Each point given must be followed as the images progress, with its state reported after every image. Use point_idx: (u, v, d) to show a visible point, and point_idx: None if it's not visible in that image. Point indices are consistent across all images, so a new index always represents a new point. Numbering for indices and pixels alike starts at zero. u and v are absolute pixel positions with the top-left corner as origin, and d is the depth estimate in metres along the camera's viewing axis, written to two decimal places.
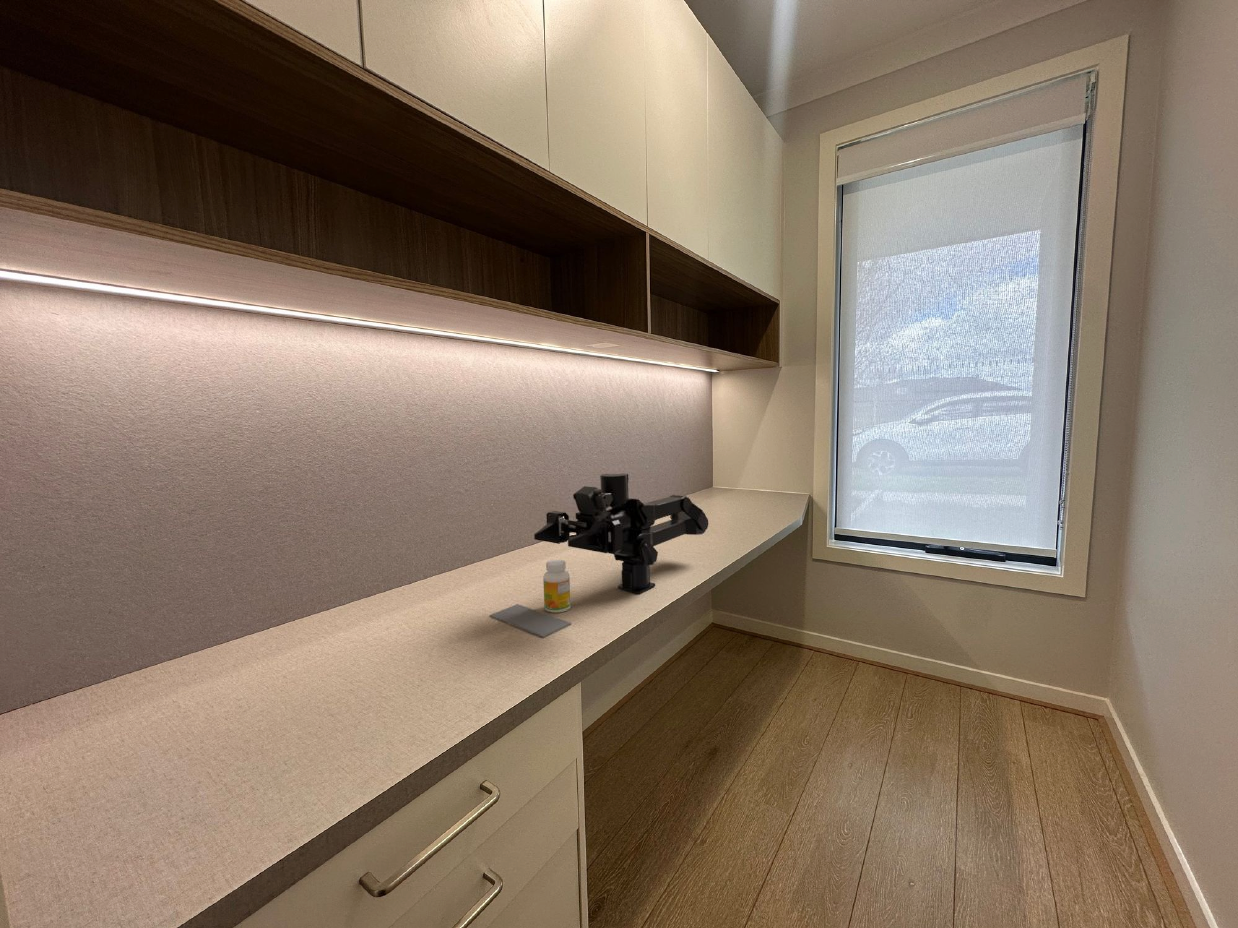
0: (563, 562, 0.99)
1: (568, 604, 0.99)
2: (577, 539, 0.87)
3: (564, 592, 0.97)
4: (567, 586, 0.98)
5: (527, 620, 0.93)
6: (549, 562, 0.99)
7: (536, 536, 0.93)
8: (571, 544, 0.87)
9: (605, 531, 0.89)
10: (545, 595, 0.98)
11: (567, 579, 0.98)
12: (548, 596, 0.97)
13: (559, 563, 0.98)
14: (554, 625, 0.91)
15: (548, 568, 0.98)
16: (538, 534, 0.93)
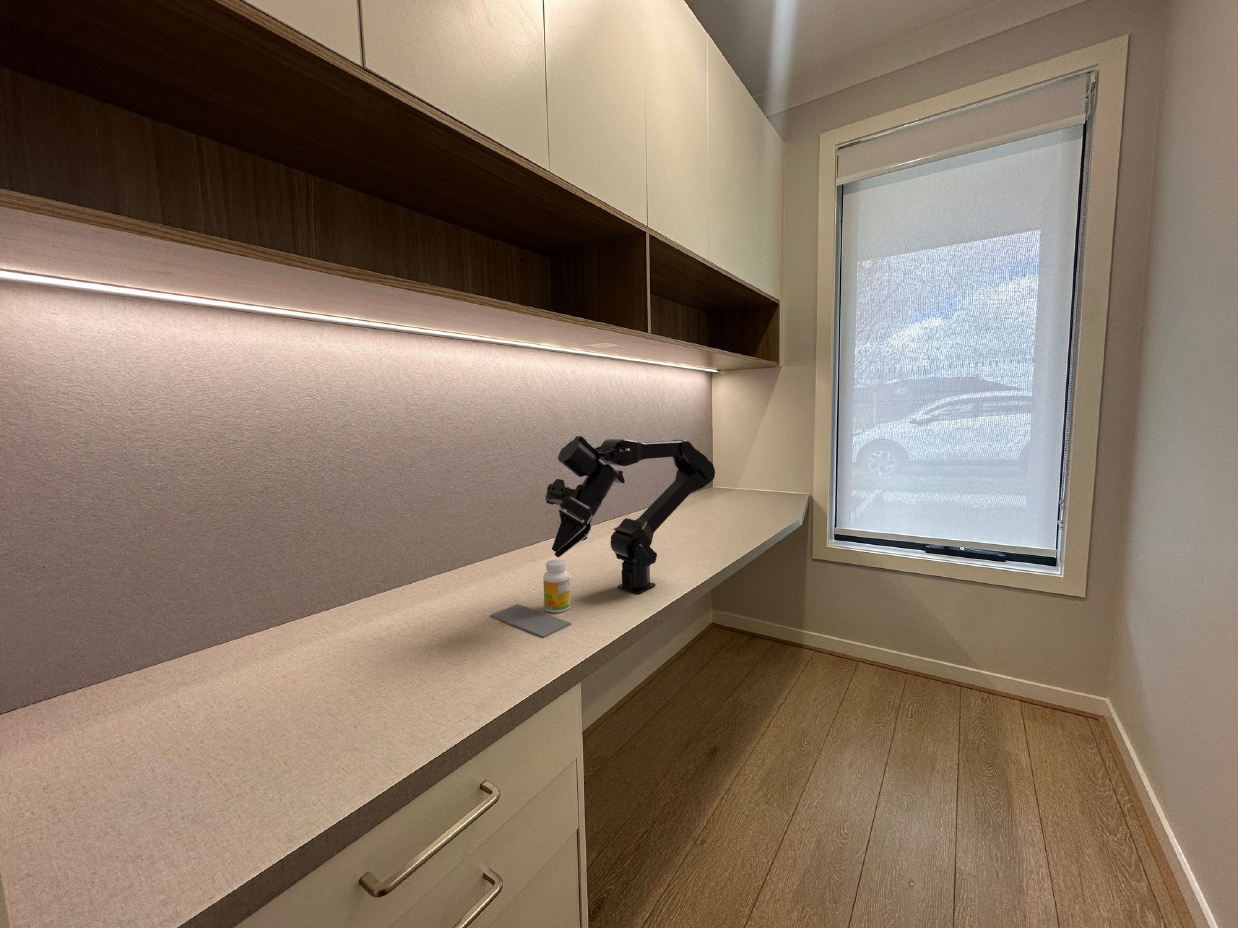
0: (563, 562, 0.99)
1: (568, 604, 0.99)
2: (555, 541, 0.93)
3: (564, 592, 0.97)
4: (567, 586, 0.98)
5: (527, 620, 0.93)
6: (549, 562, 0.99)
7: (557, 555, 1.02)
8: (555, 549, 0.93)
9: (565, 515, 0.92)
10: (545, 595, 0.98)
11: (567, 579, 0.98)
12: (548, 596, 0.97)
13: (559, 563, 0.98)
14: (554, 625, 0.91)
15: (548, 568, 0.98)
16: (557, 552, 1.02)
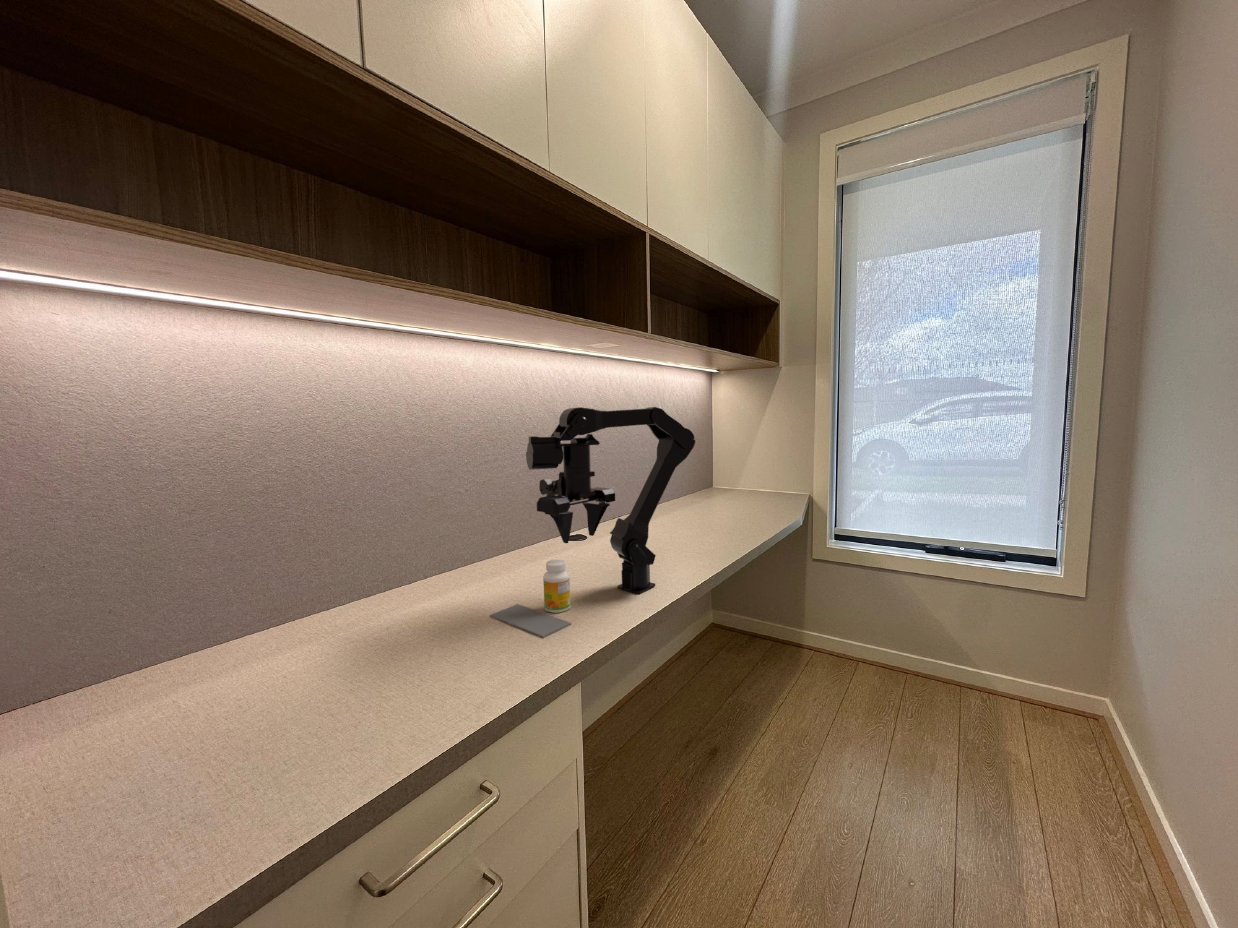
0: (563, 562, 0.99)
1: (568, 604, 0.99)
2: (561, 535, 1.00)
3: (564, 592, 0.97)
4: (567, 586, 0.98)
5: (527, 620, 0.93)
6: (549, 562, 0.99)
7: (590, 534, 1.07)
8: (565, 541, 1.00)
9: None
10: (545, 595, 0.98)
11: (567, 579, 0.98)
12: (548, 596, 0.97)
13: (559, 563, 0.98)
14: (554, 625, 0.91)
15: (548, 568, 0.98)
16: (589, 532, 1.07)
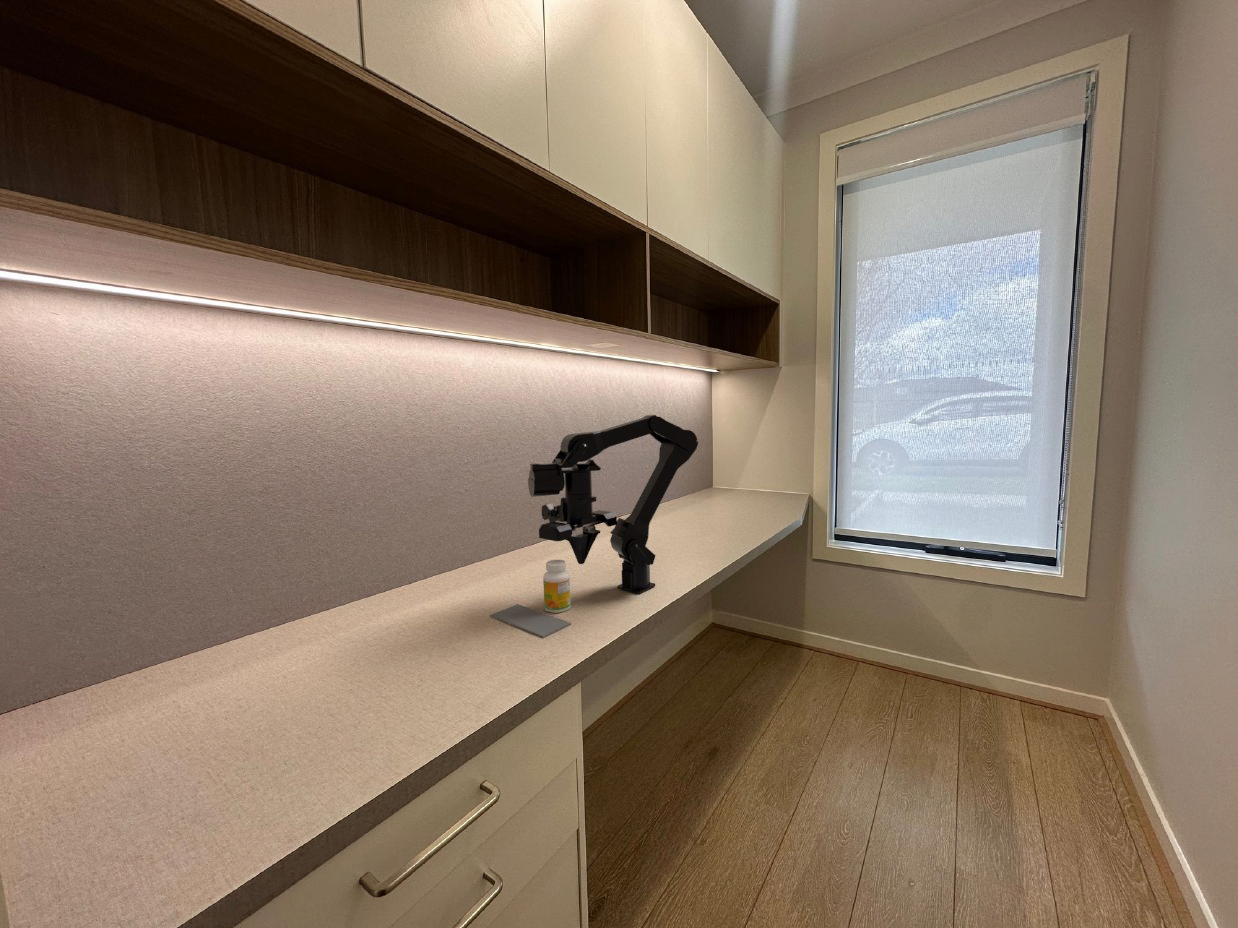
0: (563, 562, 0.99)
1: (568, 604, 0.99)
2: (576, 556, 1.04)
3: (564, 592, 0.97)
4: (567, 586, 0.98)
5: (527, 620, 0.93)
6: (549, 562, 0.99)
7: None
8: (580, 562, 1.04)
9: None
10: (545, 595, 0.98)
11: (567, 579, 0.98)
12: (548, 596, 0.97)
13: (559, 563, 0.98)
14: (554, 625, 0.91)
15: (548, 568, 0.98)
16: None
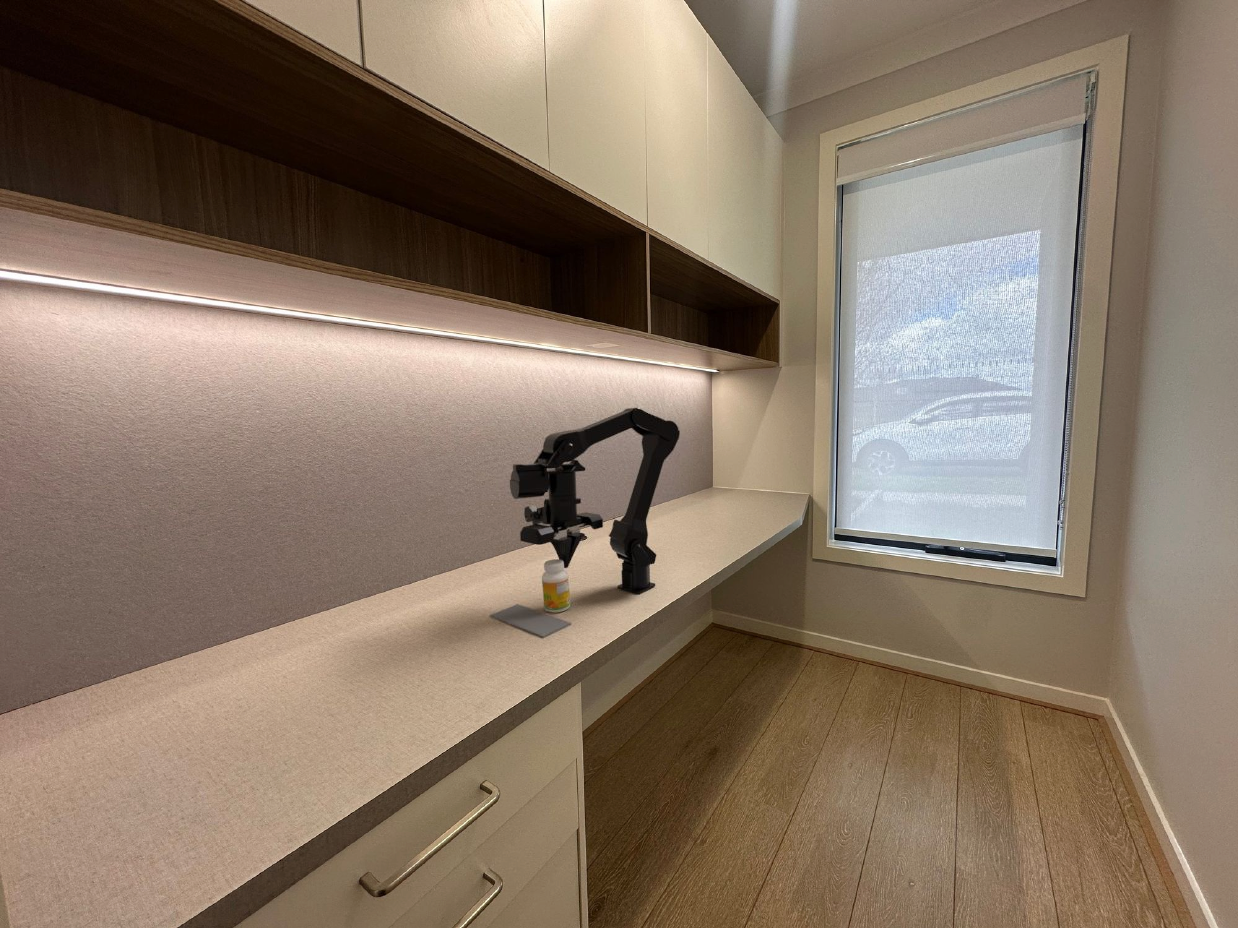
0: (561, 562, 0.98)
1: (568, 603, 0.98)
2: None
3: (563, 592, 0.97)
4: (566, 586, 0.98)
5: (527, 620, 0.93)
6: (547, 562, 0.99)
7: (564, 566, 1.01)
8: (564, 566, 1.01)
9: None
10: (544, 595, 0.98)
11: (566, 579, 0.98)
12: (547, 596, 0.97)
13: (557, 563, 0.98)
14: (554, 625, 0.91)
15: (546, 569, 0.97)
16: None
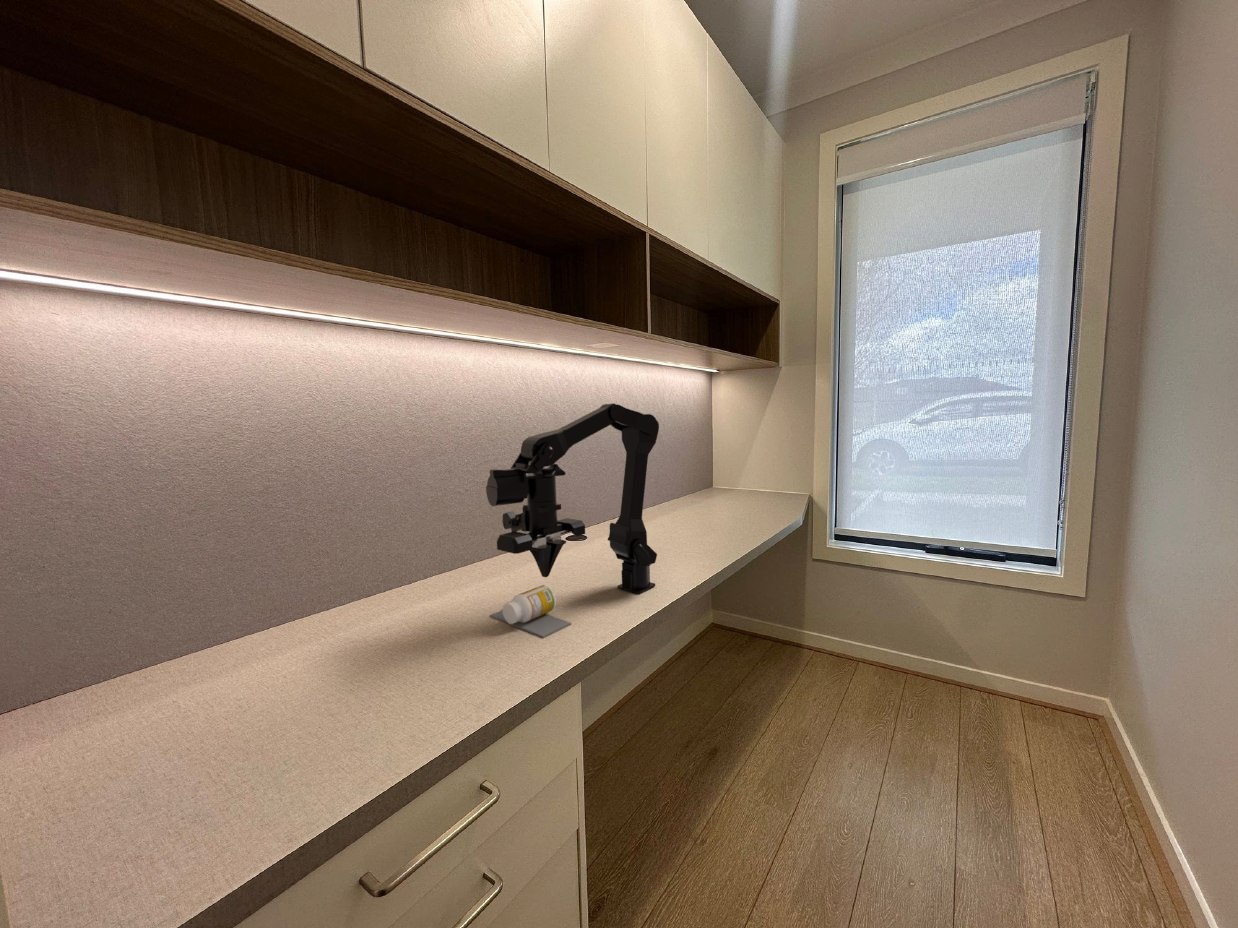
0: (513, 611, 0.89)
1: (552, 599, 0.95)
2: (540, 569, 0.96)
3: (541, 609, 0.93)
4: (537, 606, 0.92)
5: None
6: (505, 615, 0.91)
7: None
8: (544, 575, 0.96)
9: None
10: None
11: (531, 608, 0.91)
12: None
13: (512, 615, 0.89)
14: (554, 625, 0.91)
15: None
16: None
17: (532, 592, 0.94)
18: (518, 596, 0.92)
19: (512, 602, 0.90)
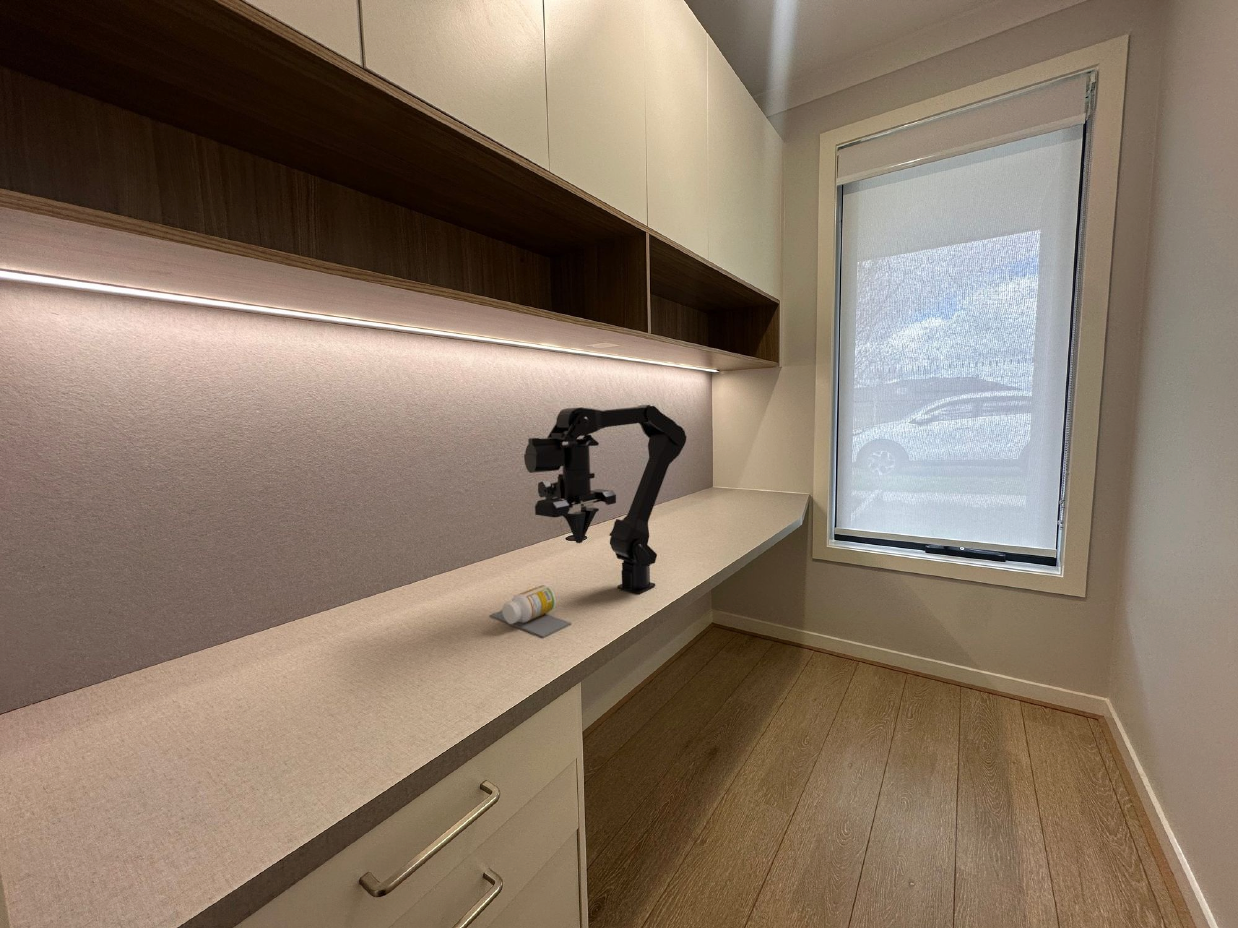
0: (513, 610, 0.89)
1: (551, 599, 0.95)
2: (574, 535, 1.01)
3: (541, 608, 0.93)
4: (537, 606, 0.92)
5: None
6: (505, 615, 0.91)
7: None
8: (577, 541, 1.01)
9: None
10: None
11: (531, 608, 0.91)
12: None
13: (512, 615, 0.89)
14: (554, 625, 0.91)
15: None
16: None
17: (532, 592, 0.94)
18: (518, 596, 0.92)
19: (512, 602, 0.90)
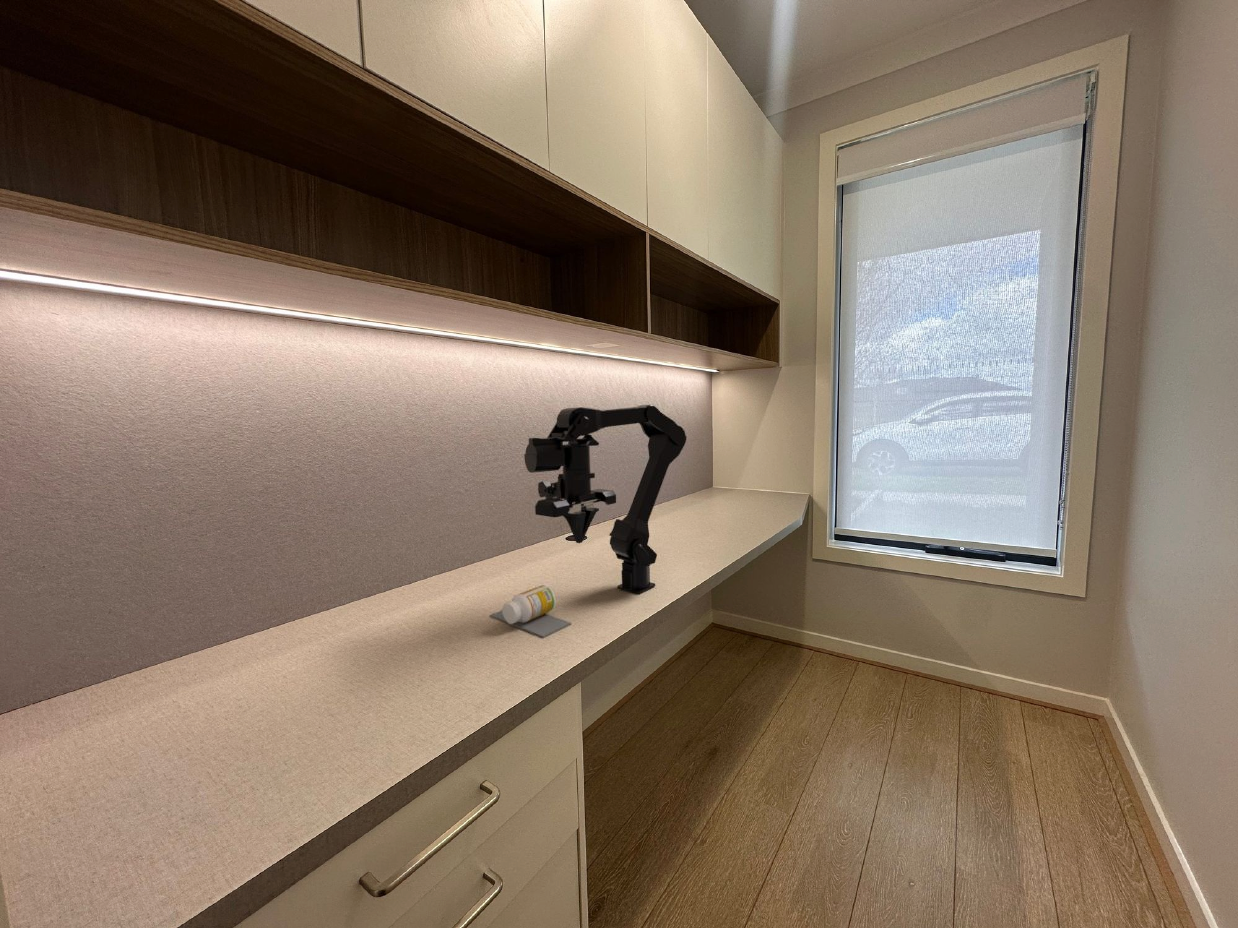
0: (513, 610, 0.89)
1: (551, 599, 0.95)
2: (574, 535, 1.01)
3: (541, 608, 0.93)
4: (537, 606, 0.92)
5: None
6: (505, 615, 0.91)
7: None
8: (578, 541, 1.01)
9: None
10: None
11: (531, 608, 0.91)
12: None
13: (512, 615, 0.89)
14: (554, 625, 0.91)
15: None
16: None
17: (532, 592, 0.94)
18: (518, 596, 0.92)
19: (512, 602, 0.90)
